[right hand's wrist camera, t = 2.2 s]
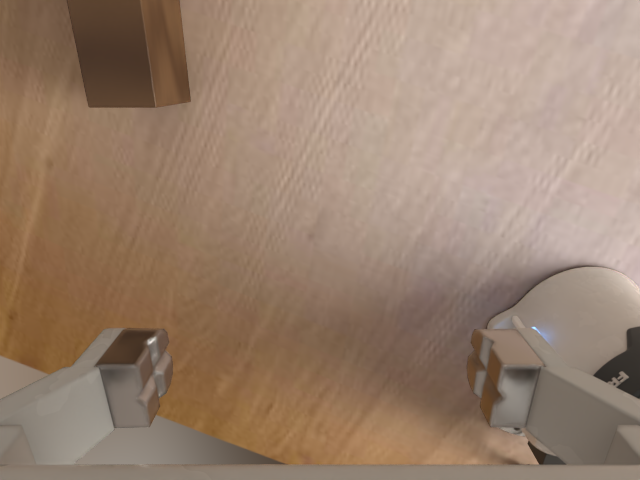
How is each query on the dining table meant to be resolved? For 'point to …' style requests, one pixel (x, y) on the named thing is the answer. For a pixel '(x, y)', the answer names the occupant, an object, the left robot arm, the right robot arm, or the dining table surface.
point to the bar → (131, 52)
